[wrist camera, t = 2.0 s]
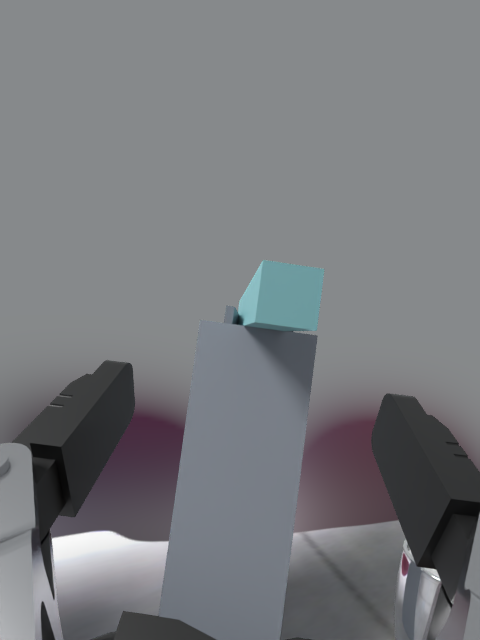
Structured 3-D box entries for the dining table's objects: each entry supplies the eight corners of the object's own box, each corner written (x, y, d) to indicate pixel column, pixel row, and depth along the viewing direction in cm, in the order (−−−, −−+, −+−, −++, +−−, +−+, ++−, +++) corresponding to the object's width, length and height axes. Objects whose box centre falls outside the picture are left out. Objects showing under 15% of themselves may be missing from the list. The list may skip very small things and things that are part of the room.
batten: (254, 322, 18) (263, 260, 18) (235, 327, 42) (239, 301, 42) (316, 330, 18) (324, 269, 18) (262, 331, 42) (265, 305, 42)
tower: (144, 712, 26) (202, 302, 27) (175, 607, 36) (215, 311, 37) (268, 735, 25) (319, 317, 27) (263, 622, 35) (301, 322, 37)
